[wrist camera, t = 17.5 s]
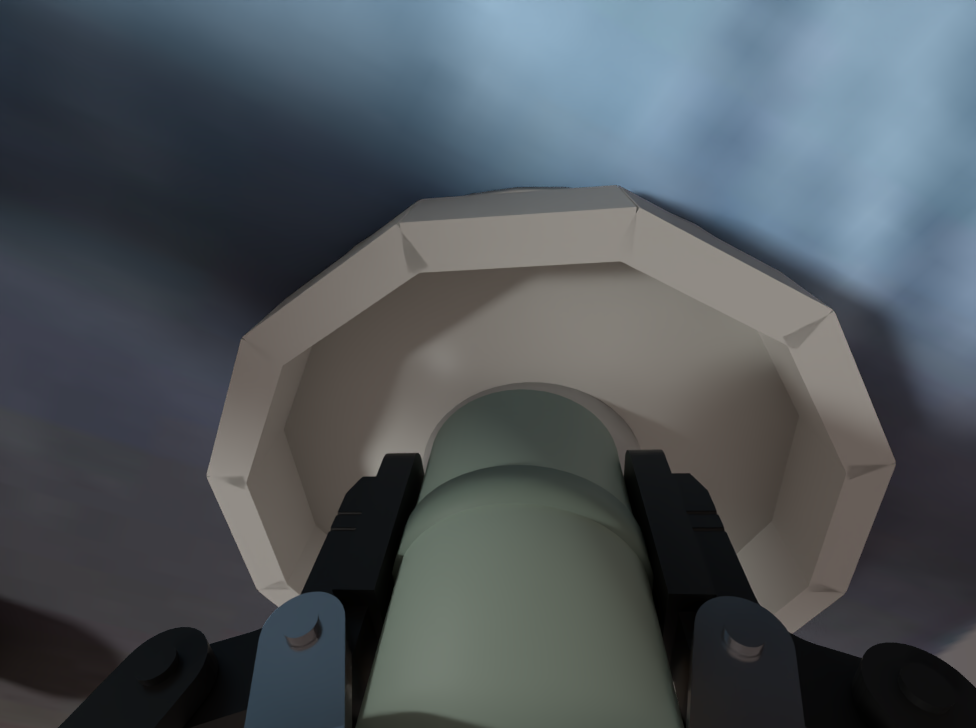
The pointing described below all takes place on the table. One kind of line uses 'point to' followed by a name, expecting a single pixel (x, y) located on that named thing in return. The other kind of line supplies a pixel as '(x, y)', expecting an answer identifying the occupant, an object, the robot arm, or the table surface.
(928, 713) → the robot arm
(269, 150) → the table surface
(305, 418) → the ring tray
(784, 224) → the table surface
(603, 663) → the sage bead
